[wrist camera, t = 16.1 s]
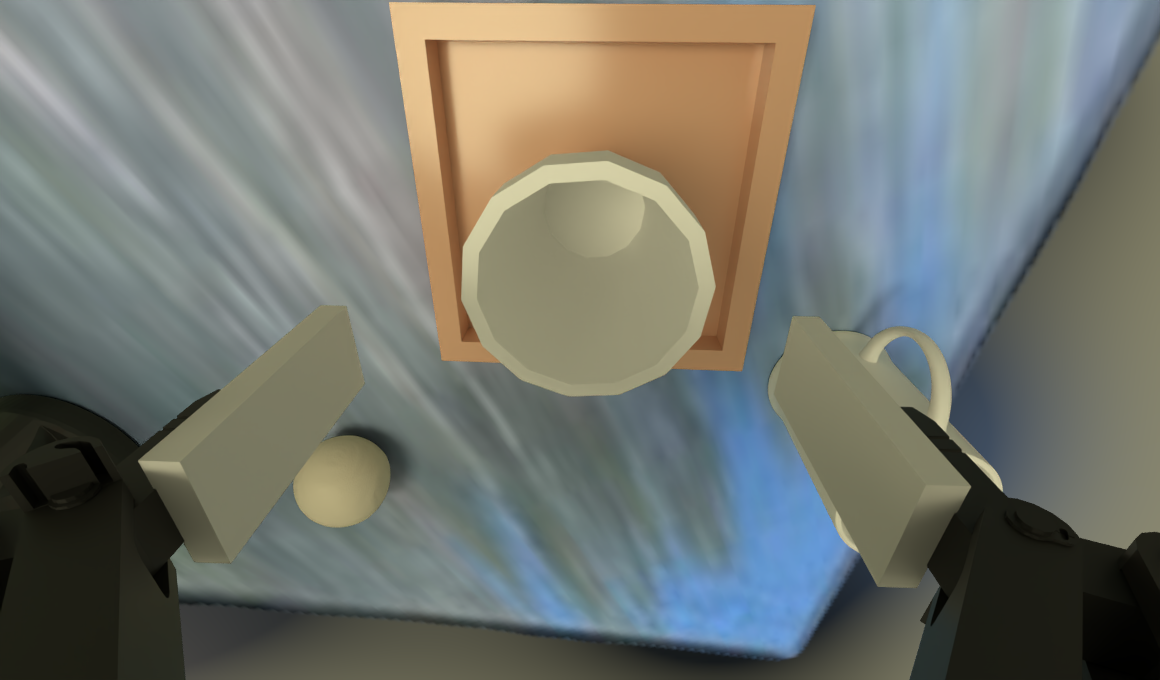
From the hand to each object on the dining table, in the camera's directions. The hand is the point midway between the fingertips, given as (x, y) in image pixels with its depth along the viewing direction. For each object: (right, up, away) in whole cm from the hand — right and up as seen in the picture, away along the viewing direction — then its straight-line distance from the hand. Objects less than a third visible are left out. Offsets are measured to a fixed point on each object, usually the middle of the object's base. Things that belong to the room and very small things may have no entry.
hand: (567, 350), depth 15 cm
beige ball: (-18, -9, +27) cm, 34 cm away
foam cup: (+1, +8, +15) cm, 17 cm away
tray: (+1, +9, +16) cm, 18 cm away
